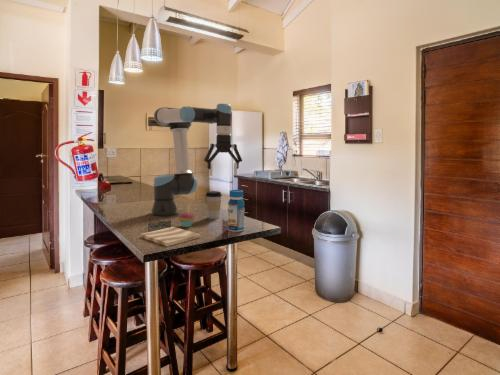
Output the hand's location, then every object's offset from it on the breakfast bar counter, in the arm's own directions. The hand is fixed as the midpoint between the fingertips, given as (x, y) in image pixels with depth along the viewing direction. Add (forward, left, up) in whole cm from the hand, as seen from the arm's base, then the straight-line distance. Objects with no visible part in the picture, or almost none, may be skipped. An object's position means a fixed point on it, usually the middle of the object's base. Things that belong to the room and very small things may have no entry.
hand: (223, 175), depth 171 cm
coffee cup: (-14, +6, -27) cm, 31 cm away
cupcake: (-10, -17, -27) cm, 33 cm away
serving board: (+1, -35, -26) cm, 43 cm away
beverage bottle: (+14, -5, -27) cm, 30 cm away
